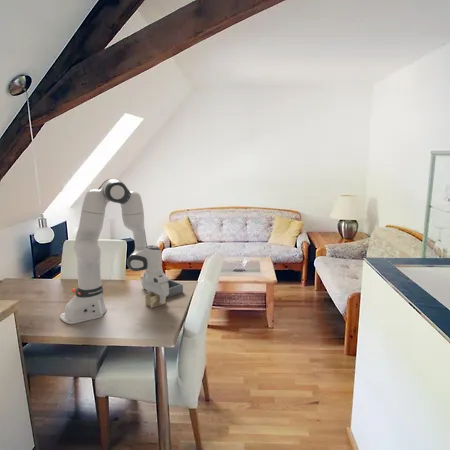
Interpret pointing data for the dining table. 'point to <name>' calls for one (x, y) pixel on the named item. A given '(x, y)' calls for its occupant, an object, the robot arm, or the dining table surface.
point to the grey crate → (174, 288)
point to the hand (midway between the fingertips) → (155, 300)
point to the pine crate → (153, 300)
